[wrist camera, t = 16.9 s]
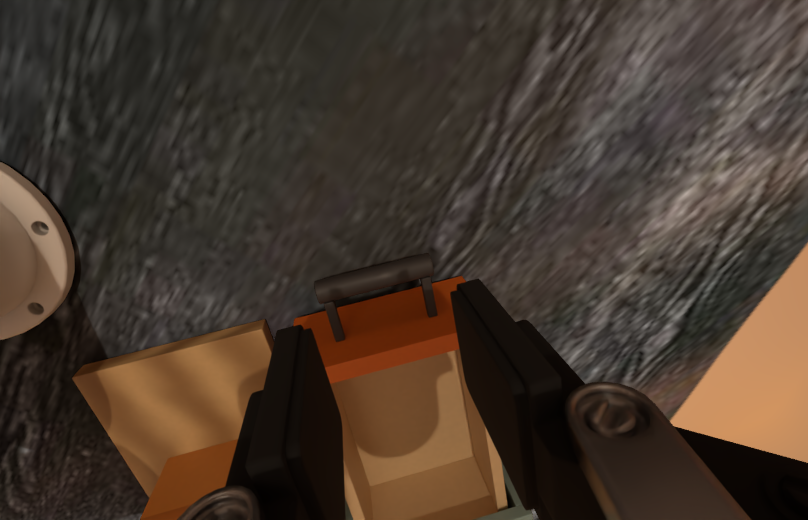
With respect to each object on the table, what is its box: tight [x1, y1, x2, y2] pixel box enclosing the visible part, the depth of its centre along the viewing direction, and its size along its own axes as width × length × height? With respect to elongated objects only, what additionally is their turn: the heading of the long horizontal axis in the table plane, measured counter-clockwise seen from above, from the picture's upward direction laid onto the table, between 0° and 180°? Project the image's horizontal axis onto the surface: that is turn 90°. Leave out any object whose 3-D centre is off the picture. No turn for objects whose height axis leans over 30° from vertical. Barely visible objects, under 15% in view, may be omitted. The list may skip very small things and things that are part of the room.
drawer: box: [293, 253, 508, 520], centre depth 29 cm, size 22×13×7 cm, turn 11°
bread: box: [140, 439, 238, 520], centre depth 29 cm, size 8×5×8 cm, turn 101°
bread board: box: [72, 319, 274, 499], centre depth 33 cm, size 13×22×2 cm, turn 11°
